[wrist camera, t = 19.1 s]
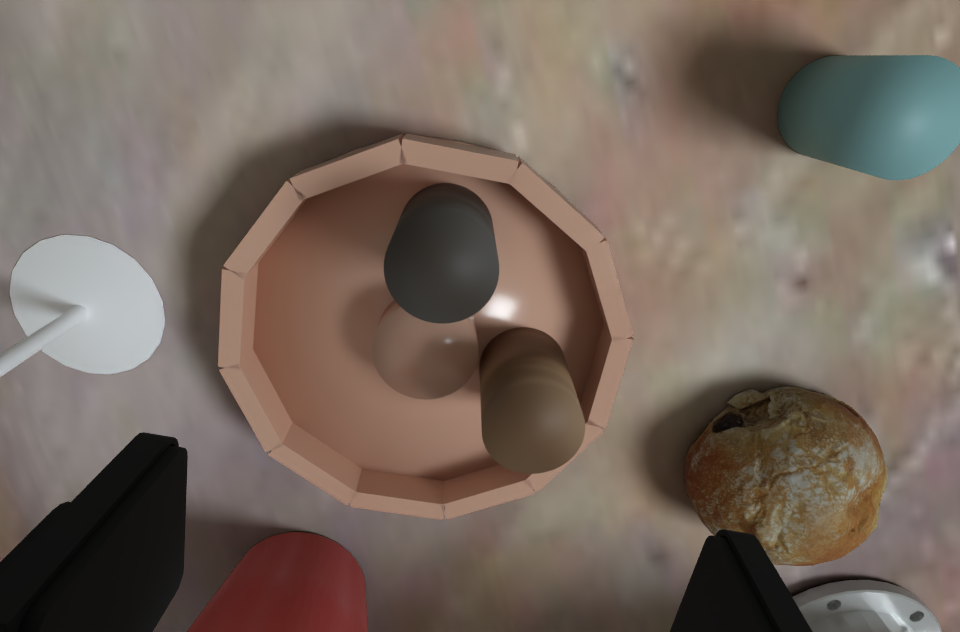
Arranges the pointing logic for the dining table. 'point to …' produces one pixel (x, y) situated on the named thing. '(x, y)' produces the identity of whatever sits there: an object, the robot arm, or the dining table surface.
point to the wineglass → (84, 306)
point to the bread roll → (789, 474)
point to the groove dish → (407, 328)
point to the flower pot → (290, 589)
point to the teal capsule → (874, 113)
